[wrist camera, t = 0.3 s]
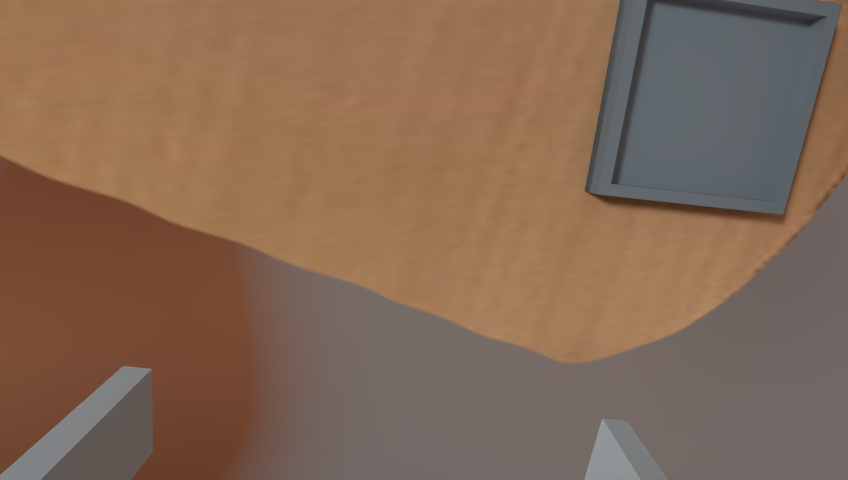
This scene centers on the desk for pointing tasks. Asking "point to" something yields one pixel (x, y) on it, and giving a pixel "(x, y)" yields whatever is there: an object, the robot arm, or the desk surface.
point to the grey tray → (710, 100)
